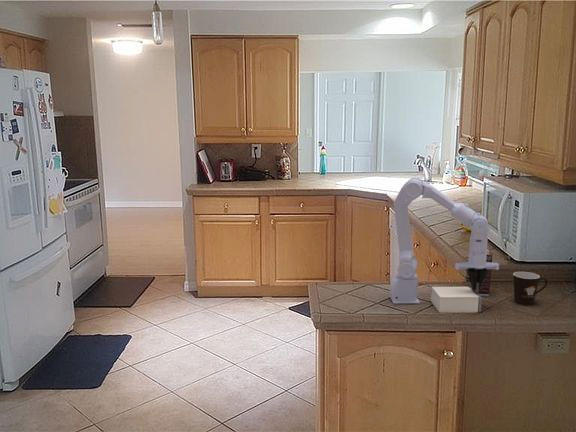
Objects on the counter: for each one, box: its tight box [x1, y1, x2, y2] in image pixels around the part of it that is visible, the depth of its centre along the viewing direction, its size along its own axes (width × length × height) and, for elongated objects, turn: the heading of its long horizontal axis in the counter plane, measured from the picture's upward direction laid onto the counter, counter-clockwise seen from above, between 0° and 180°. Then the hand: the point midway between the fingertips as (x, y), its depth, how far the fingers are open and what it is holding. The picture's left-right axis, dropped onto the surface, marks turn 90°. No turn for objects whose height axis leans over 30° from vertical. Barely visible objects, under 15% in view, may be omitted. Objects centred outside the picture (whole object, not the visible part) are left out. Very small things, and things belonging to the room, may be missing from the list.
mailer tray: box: [468, 281, 483, 313], centre depth 190 cm, size 13×11×9 cm
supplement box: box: [475, 249, 493, 297], centre depth 204 cm, size 9×5×16 cm, turn 168°
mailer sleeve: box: [430, 286, 479, 314], centre depth 190 cm, size 13×11×6 cm
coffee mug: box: [512, 271, 548, 306], centre depth 194 cm, size 12×9×10 cm
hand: (475, 289), depth 189 cm, fingers closed, pressing on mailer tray
